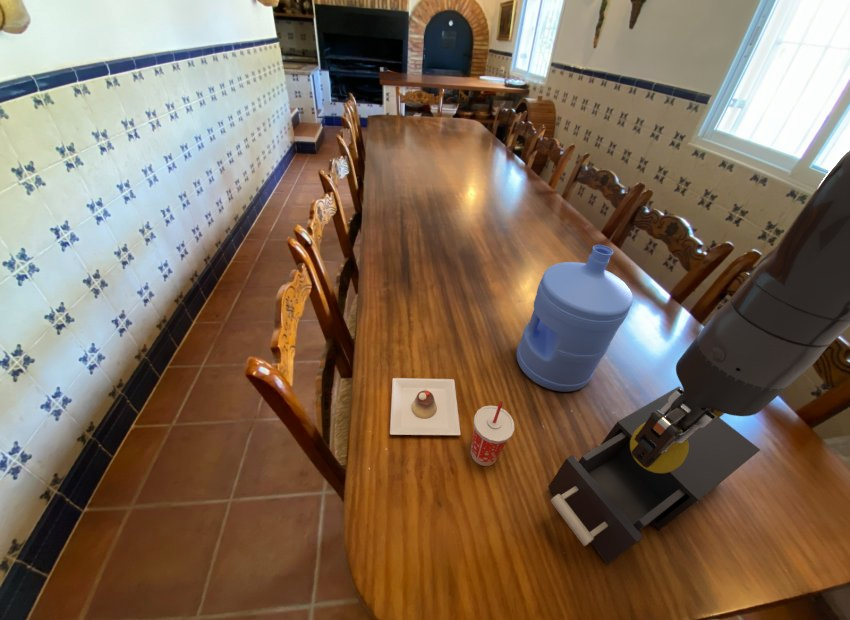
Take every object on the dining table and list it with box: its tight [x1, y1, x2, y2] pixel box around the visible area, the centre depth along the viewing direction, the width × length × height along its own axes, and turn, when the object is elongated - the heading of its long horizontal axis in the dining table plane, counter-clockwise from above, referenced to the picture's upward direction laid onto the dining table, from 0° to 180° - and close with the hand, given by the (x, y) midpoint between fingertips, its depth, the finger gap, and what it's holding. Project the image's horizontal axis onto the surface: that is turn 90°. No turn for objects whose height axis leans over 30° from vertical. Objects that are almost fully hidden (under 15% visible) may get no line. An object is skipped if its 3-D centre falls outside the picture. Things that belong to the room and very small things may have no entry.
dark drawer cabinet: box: [600, 386, 761, 532], centre depth 56 cm, size 16×13×11 cm
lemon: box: [630, 422, 689, 473], centre depth 43 cm, size 6×6×8 cm
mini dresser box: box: [547, 432, 686, 566], centre depth 51 cm, size 19×11×9 cm, turn 118°
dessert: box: [389, 377, 462, 436], centre depth 64 cm, size 12×12×5 cm
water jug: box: [516, 244, 634, 393], centre depth 67 cm, size 16×16×28 cm
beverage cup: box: [470, 401, 515, 467], centre depth 55 cm, size 6×6×14 cm
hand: (656, 448), depth 43 cm, fingers closed on lemon, 5 cm apart
